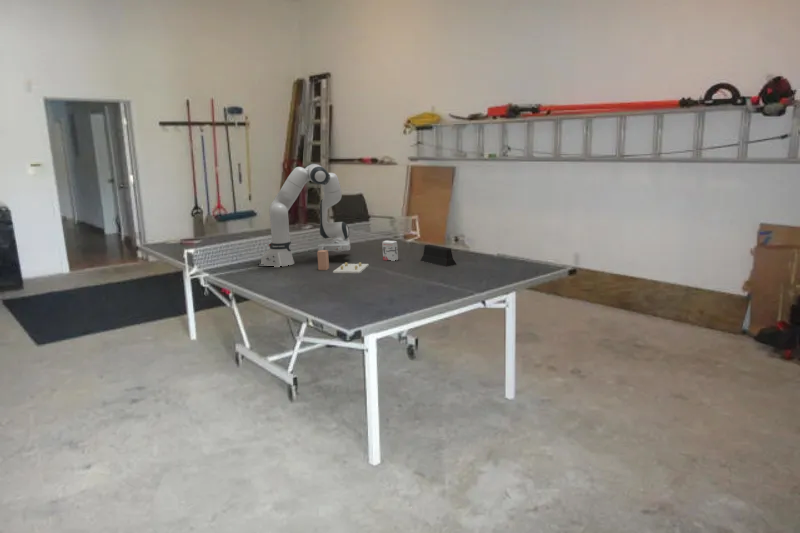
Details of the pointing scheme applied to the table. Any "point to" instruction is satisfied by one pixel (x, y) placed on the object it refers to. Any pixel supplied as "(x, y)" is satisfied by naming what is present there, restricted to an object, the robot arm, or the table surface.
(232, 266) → the table surface
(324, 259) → the terracotta block
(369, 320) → the table surface
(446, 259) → the barrier
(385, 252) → the ink box
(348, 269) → the mounting plate
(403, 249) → the table surface
